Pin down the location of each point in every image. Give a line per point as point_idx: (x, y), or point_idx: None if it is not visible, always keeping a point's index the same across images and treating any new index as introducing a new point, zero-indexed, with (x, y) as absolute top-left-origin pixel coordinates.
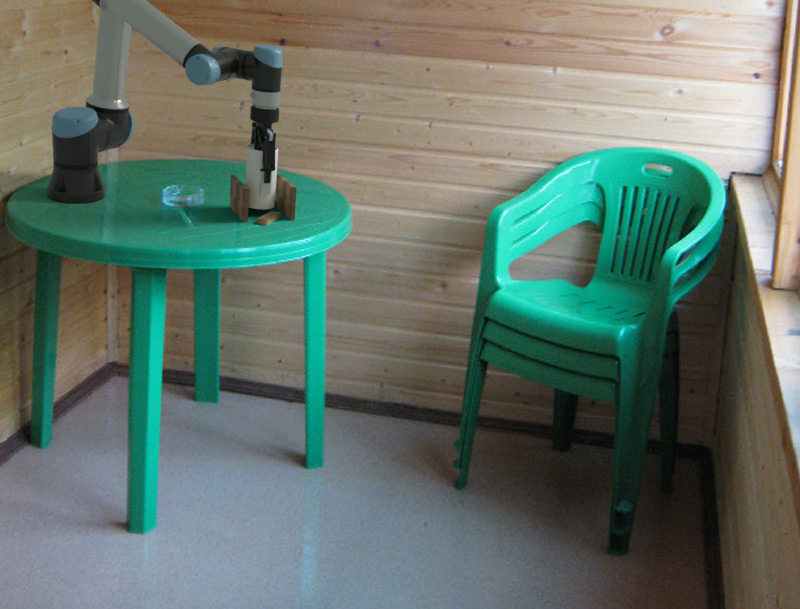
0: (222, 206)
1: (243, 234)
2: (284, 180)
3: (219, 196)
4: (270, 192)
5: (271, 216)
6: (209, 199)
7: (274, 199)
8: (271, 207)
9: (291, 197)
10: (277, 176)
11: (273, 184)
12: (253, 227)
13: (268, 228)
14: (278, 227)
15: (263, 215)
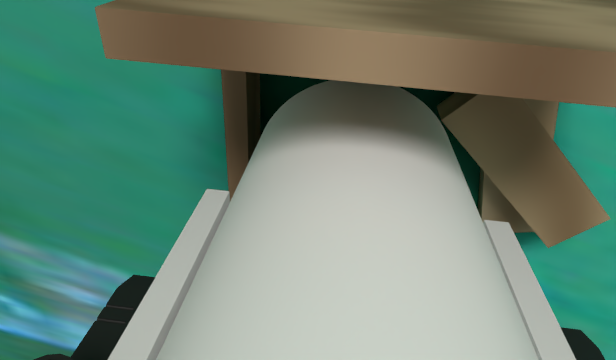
0: (179, 232)
1: (598, 300)
2: (430, 86)
3: (18, 190)
4: (513, 235)
5: (554, 167)
6: (75, 240)
7: (432, 126)
8: (446, 133)
9: None
10: (148, 54)
11: (486, 234)
12: (529, 233)
13: (585, 178)
14: (603, 122)
15: (509, 199)
